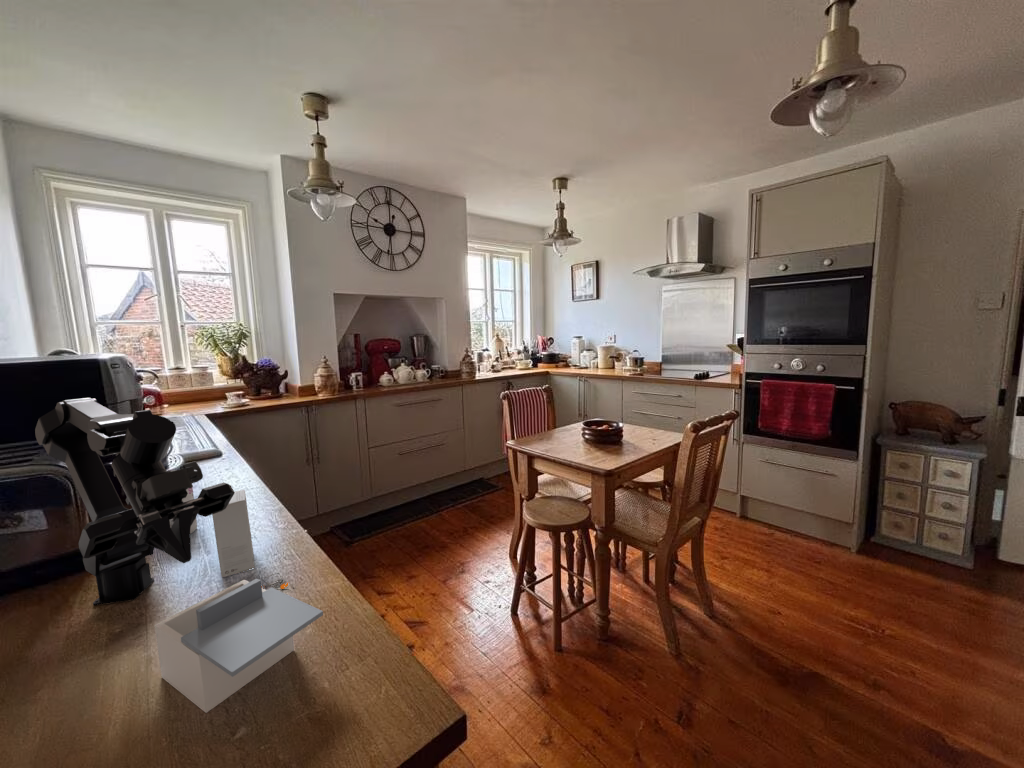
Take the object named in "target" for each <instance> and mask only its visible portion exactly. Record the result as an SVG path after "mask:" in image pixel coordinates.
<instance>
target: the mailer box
mask: <svg viewBox="0 0 1024 768" xmlns="http://www.w3.org/2000/svg"><path fill="white" fill-rule="evenodd" d="M249 582H250V581H248V580H246V579H243V580H240V581H238V582H236V583H235V584H233V585H231V586H228V587H227V588H224V589H222V590H221V591H219V592H216V593H215V594H213V595H211V596H208V597H206V598H204V599H203V600H201V601H199V602H197V603H195V604H193V605H191V606H189V607H187V608H185V609H182V610H181V611H179V612H177V613H175V614H173V615H171V616H169V617H168V618H165V619H164V620H161V621H159V622H158V623H156V624H154V625H153V627H154V633H155V640H156V647H157V655H158V662H159V669H160V675H161V678H162V679H163V680H164V681H166V682H167V683H168V684H169V685H170V686H172V687H173V689H176V691H178V692H179V693H181V694H182V695H183V696H184V697H185V698H186V699H188V700H189V701H190V702H192V703H193V704H194V705H195V706H197V707H198V708H199V709H201V710H202V711H203V712H204V713H206V714H207V713H208V712H210V711H211V710H212V709H214V708H215V707H216V706H218V705H220V704H221V703H222V702H224V701H225V700H226V699H228V698H230V697H231V696H232V695H233V694H235V693H236V692H237V691H239V690H241V689H242V688H244V686H246V685H247V684H249V683H250V682H252V681H253V680H254V679H256V678H257V677H258V676H260V675H261V674H263V673H264V672H265V671H267V670H268V669H270V668H271V667H273V665H275V664H277V663H279V661H281V660H282V659H284V658H285V657H287V656H288V655H289V654H291V653H292V652H294V651H295V643H294V635H293V636H292V637H290V638H289V639H287V640H286V641H284V642H283V643H282V644H280V645H279V646H277V647H276V648H274V649H273V650H271V651H270V652H268V653H267V654H265V655H264V656H263V657H261V658H260V659H258V660H257V661H255V662H254V663H252V664H251V665H249V666H248V667H246V668H245V669H243V670H242V671H241V672H239V673H238V674H236V675H235V676H233V677H232V676H230V675H229V674H228V673H226V672H225V671H223V670H222V669H220V668H219V667H217V666H216V665H214V664H213V663H211V662H210V661H209V660H207V659H206V658H204V657H203V656H201V655H200V654H198V653H197V652H195V651H194V650H193V649H191V648H190V647H188V646H187V645H185V644H184V643H182V642H181V637H183V636H185V635H186V634H188V633H190V632H192V631H194V630H195V629H197V628H198V622H197V614H196V610H197V609H199V608H201V607H203V606H205V605H207V604H208V603H210V602H212V601H214V600H216V599H218V598H220V597H222V596H224V595H226V594H228V593H230V592H232V591H234V590H236V589H237V588H239V587H241V586H243V585H245V584H247V583H249ZM266 590H267V589H265V588H264V589H263V588H262V592H264V591H266Z"/></svg>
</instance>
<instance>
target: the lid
mask: <svg viewBox="0 0 1024 768" xmlns="http://www.w3.org/2000/svg"><path fill="white" fill-rule="evenodd" d="M248 582H249V583H247V584H245V585H243V586H241V587H239V588H237V589H236V590H234V591H232V592H230V593H228V594H226V595H224V596H222V597H220V598H218V599H216V600H214V601H212V602H210V603H208V604H207V605H205V606H203V607H201V608H199V609H197V610H196V614H197V622H198V628H197V629H195V630H194V631H192V632H190V633H188V634H186V635H185V636H183V637H181V642H182V643H184V644H185V645H187V646H188V647H190V648H191V649H193V650H194V651H195V652H197V653H198V654H200V655H201V656H203V657H204V658H206V659H207V660H209V661H210V662H211V663H213V664H214V665H216V666H217V667H219V668H220V669H222V670H223V671H225V672H226V673H228V674H229V675H230V676H232V677H233V676H235V675H236V674H238V673H239V672H241V671H242V670H243V669H245V668H246V667H248V666H249V665H251V664H252V663H254V662H255V661H257V660H258V659H260V658H261V657H263V656H264V655H265V654H267V653H268V652H270V651H271V650H273V649H274V648H276V647H277V646H279V645H280V644H282V643H283V642H284V641H286V640H287V639H289V638H290V637H292V636H293V637H294V636H295V635H296V634H298V633H299V632H301V631H302V630H304V629H305V628H306V627H308V626H310V625H311V624H312V623H313V622H316V621H317V620H318V619H319V618H321V617H322V616H324V611H323V610H321V609H320V608H317V607H315V606H313V605H312V604H311V605H310V604H309V603H307V602H304V601H302V600H300V599H297V598H295V597H293V596H291V595H289V594H288V593H285V592H283V591H282V592H281V590H276V589H277V588H276V589H274V588H273V587H270V588H268V589H265V590H266V591H264V592H262V586H261V585H262V579H259V578H255V579H253V580H250V581H248Z"/></svg>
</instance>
